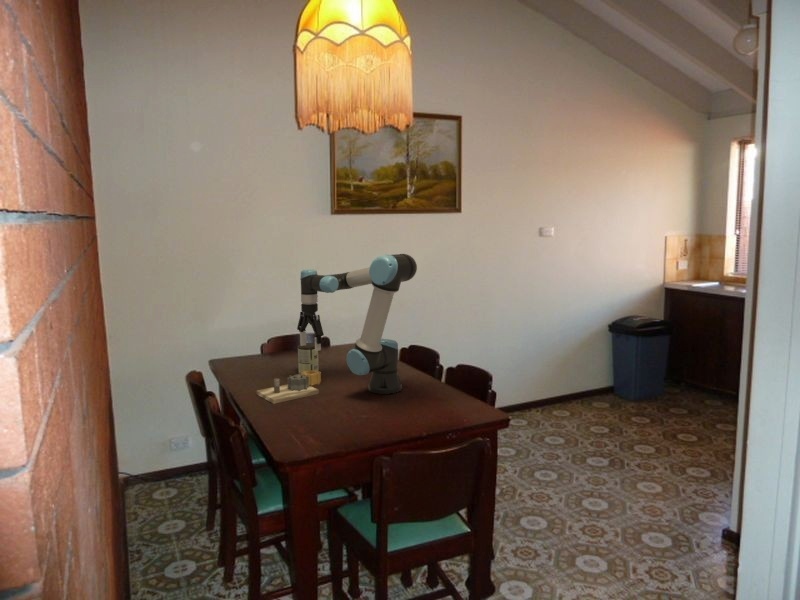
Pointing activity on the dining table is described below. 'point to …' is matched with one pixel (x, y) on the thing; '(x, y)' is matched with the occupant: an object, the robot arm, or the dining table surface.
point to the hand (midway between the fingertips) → (310, 347)
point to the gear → (313, 376)
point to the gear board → (288, 389)
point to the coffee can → (307, 358)
